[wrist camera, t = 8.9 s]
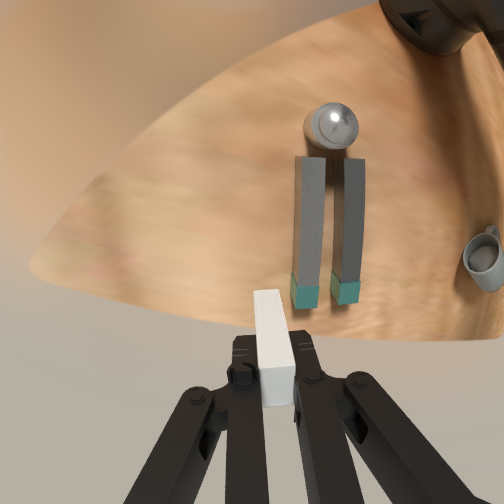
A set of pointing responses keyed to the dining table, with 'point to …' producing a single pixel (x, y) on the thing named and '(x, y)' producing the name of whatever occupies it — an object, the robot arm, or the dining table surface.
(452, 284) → the dining table surface
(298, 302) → the tong swing arm
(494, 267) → the ceramic mug
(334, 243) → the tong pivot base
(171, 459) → the robot arm
